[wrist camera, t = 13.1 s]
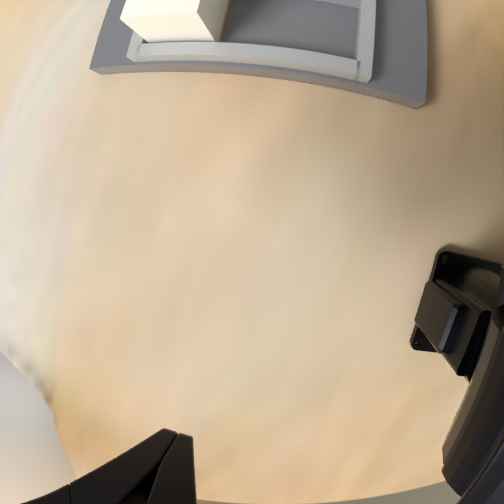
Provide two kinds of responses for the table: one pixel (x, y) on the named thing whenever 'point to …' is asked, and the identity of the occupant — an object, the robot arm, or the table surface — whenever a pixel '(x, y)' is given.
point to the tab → (175, 19)
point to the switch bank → (292, 46)
